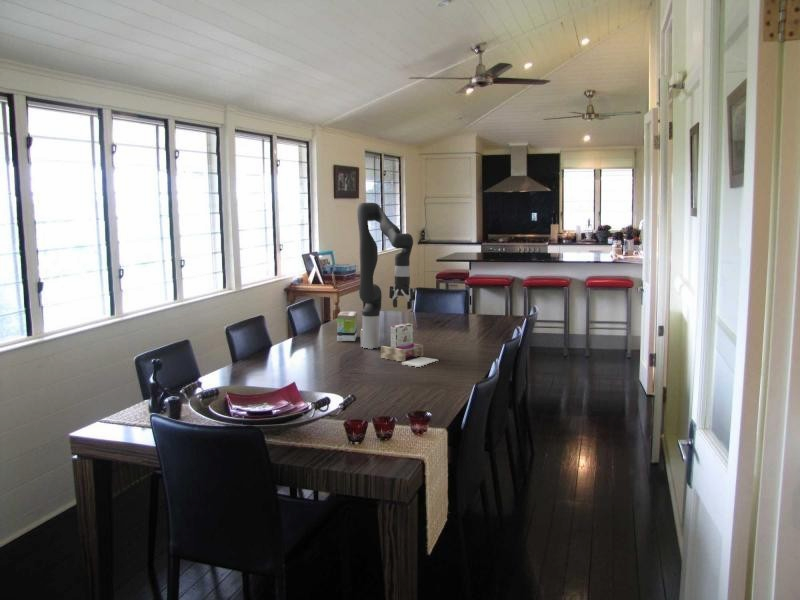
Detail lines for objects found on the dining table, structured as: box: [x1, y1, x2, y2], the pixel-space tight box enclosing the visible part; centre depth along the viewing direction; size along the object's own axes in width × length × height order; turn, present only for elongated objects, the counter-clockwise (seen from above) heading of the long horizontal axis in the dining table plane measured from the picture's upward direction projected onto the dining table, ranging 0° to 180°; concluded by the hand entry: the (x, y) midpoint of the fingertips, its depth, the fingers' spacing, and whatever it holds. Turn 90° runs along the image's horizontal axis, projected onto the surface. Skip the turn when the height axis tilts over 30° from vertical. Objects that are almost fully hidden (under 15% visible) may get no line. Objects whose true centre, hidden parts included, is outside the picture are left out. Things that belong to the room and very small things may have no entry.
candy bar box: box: [390, 323, 415, 358], centre depth 334 cm, size 11×5×16 cm, turn 129°
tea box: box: [336, 311, 358, 342], centre depth 379 cm, size 15×10×15 cm, turn 179°
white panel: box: [400, 356, 439, 368], centre depth 323 cm, size 10×16×1 cm, turn 142°
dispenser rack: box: [380, 343, 424, 363], centre depth 335 cm, size 14×15×6 cm
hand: (402, 308), depth 332 cm, fingers open, 8 cm apart
